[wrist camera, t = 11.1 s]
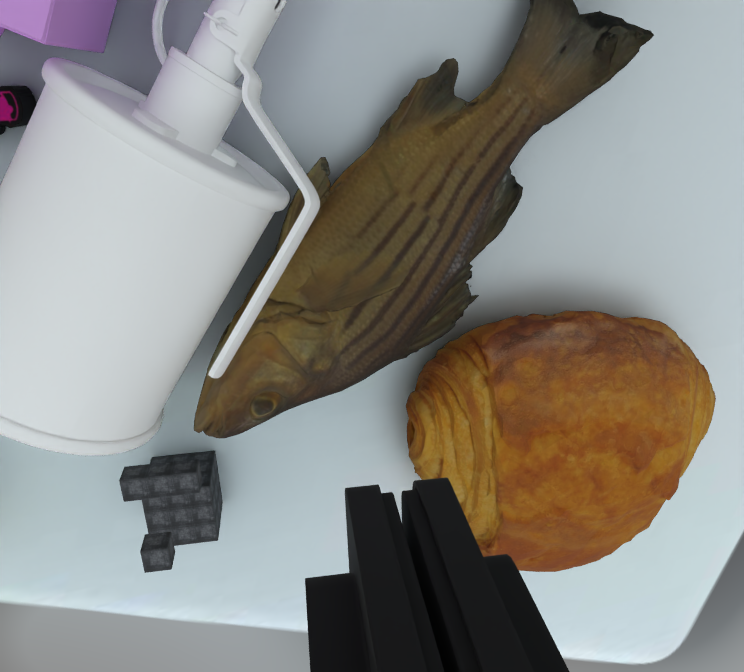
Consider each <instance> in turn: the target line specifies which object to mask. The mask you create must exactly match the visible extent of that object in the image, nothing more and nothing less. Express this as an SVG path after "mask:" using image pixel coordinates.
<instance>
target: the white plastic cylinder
mask: <svg viewBox="0 0 744 672" xmlns="http://www.w3.org/2000/svg"><path fill="white" fill-rule="evenodd" d="M168 2H169V0H157V2H156V4H155V8H154V12H153V17H152V37H153V43H154V47H155V51H156V54H157V56H158V58H159V60H160V62H161V64H162V68H161V70H160V72H159V74H158V76H157V78H156V80H155V82H154V84H153V87H152V89H151V91H150V93H149V95H148V96H147V95H145V94H143V93H141V92H139V91H137V90H135V89H133V88H131V87H129V86H127V85H125V84H123V83H121V82H119V81H117V80H115V79H113V78H111V77H109V76H107V75H105V74H103V73H100V72H98V71H96V70H94V69H91V68H89V67H86V66H84V65H81V64H79V63H76V62H73V61H70V60H67V59H63V58H57V57H52V58H49V59H47V60H46V61H45V63H44V65H43V67H42V77H43V79H44V81H45V82H46V84H45V86H44V88H43V91H42V93H41V95H40V98H39V100H38V102H37V105H36V107H35V109H34V111H33V114H32V116H31V118H30V121H29V123H28V125H27V127H26V130H25V132H24V134H23V136H22V139H21V141H20V143H19V145H18V147H17V150H16V152H15V154H14V156H13V159H12V161H11V163H10V165H9V168H8V170H7V172H6V174H5V176H4V179H3V181H2V183H1V185H0V434H1V435H3V436H5V437H8V438H10V439H13V440H15V441H18V442H21V443H24V444H27V445H30V446H33V447H37V448H41V449H45V450H49V451H54V452H59V453H65V454H72V455H84V456H103V455H113V454H119V453H123V452H127V451H130V450H133V449H136V448H138V447H140V446H142V445H143V444H145V443H147V442H148V441H149V440H150V439H151V438H152V437H153V436H154V435H155V434H156V433H157V431H158V430H159V428H160V426H161V424H162V421H163V416H164V405H165V404H166V402H167V400H168V398H169V396H170V395H171V393H172V391H173V389H174V388H175V386H176V384H177V382H178V380H179V379H180V377H181V375H182V373H183V372H184V370H185V368H186V366H187V365H188V363H189V361H190V359H191V357H192V356H193V354H194V352H195V350H196V349H197V347H198V345H199V343H200V342H201V340H202V338H203V336H204V335H205V333H206V331H207V329H208V328H209V326H210V324H211V322H212V321H213V319H214V317H215V315H216V313H217V312H218V310H219V308H220V306H221V305H222V303H223V301H224V299H225V298H226V296H227V294H228V292H229V291H230V289H231V287H232V285H233V284H234V282H235V280H236V278H237V277H238V275H239V273H240V271H241V270H242V268H243V266H244V264H245V263H246V261H247V259H248V258H249V256H250V254H251V252H252V251H253V249H254V247H255V245H256V244H257V242H258V240H259V238H260V237H261V235H262V233H263V231H264V230H265V228H266V226H267V225H268V223H269V221H270V220H271V218H272V216H273V215H274V213H275V212H277V211H282V210H283V209H284V208H285V207H286V206H287V205H288V203H289V200H290V195H289V193H288V191H287V190H286V188H285V187H284V186H283V185H282V184H281V183H280V182H279V181H278V180H277V179H276V178H275V177H273V176H272V175H271V174H270V173H269V172H267V171H266V170H265V169H263V168H262V167H261V166H260V165H258V164H257V163H255V162H254V161H253V160H251V159H250V158H249V157H247V156H246V155H244V154H243V153H241V152H240V151H238V150H237V149H235V148H234V147H232V146H231V145H229V144H228V143H226V142H225V141H223V140H222V138H223V136H224V134H225V132H226V130H227V128H228V127H229V125H230V123H231V121H232V119H233V117H234V115H235V113H236V111H237V110H238V108H239V106H240V104H241V102H242V100H243V103H244V105H245V106H246V108H247V110H248V111H249V113H250V115H251V116H252V118H253V119H254V121H255V122H256V124H257V125H258V127H259V128H260V130H261V131H262V133H263V134H264V136H265V137H266V139H267V140H268V142H269V143H270V145H271V146H272V148H273V149H274V151H275V152H276V154H277V155H278V157H279V158H280V160H281V161H282V163H283V164H284V166H285V167H286V169H287V170H288V172H289V173H290V175H291V176H292V178H293V179H294V181H295V182H296V184H297V185H298V187H299V188H300V190H301V192H302V194H303V196H304V199H305V205H304V207H303V209H302V211H301V213H300V215H299V217H298V218H297V220H296V222H295V224H294V226H293V227H292V229H291V231H290V233H289V234H288V236H287V238H286V240H285V241H284V243H283V245H282V246H281V248H280V250H279V252H278V253H277V255H276V257H275V259H274V260H273V262H272V264H271V266H270V267H269V269H268V271H267V272H266V274H265V276H264V278H263V279H262V281H261V283H260V285H259V286H258V288H257V290H256V291H255V293H254V295H253V297H252V298H251V300H250V302H249V304H248V305H247V307H246V309H245V310H244V312H243V314H242V316H241V317H240V319H239V321H238V323H237V324H236V326H235V328H234V329H233V331H232V333H231V335H230V336H229V338H228V340H227V342H226V343H225V345H224V347H223V348H222V350H221V352H220V354H219V355H218V357H217V359H216V361H215V362H214V364H213V366H212V368H211V369H210V371H209V373H208V375H209V376H210V377H212V378H219V377H221V376H222V375H223V374H224V372H225V370H226V369H227V367H228V365H229V364H230V362H231V360H232V359H233V357H234V355H235V354H236V352H237V350H238V348H239V347H240V345H241V343H242V342H243V340H244V338H245V337H246V335H247V333H248V331H249V330H250V328H251V326H252V325H253V323H254V321H255V320H256V318H257V316H258V314H259V313H260V311H261V309H262V308H263V306H264V304H265V303H266V301H267V299H268V297H269V296H270V294H271V292H272V291H273V289H274V287H275V286H276V284H277V282H278V280H279V279H280V277H281V275H282V274H283V272H284V270H285V268H286V267H287V265H288V263H289V262H290V260H291V258H292V256H293V255H294V253H295V251H296V250H297V248H298V246H299V244H300V243H301V241H302V239H303V238H304V236H305V234H306V232H307V231H308V229H309V227H310V225H311V224H312V222H313V220H314V218H315V216H316V215H317V213H318V211H319V208H320V199H319V196H318V194H317V191H316V190H315V188H314V186H313V184H312V183H311V181H310V180H309V178H308V177H307V175H306V173H305V172H304V170H303V169H302V167H301V166H300V164H299V163H298V161H297V160H296V158H295V157H294V155H293V154H292V152H291V151H290V149H289V148H288V146H287V145H286V143H285V142H284V140H283V139H282V137H281V136H280V134H279V133H278V131H277V130H276V128H275V127H274V125H273V124H272V122H271V121H270V119H269V118H268V116H267V115H266V113H265V112H264V110H263V109H262V107H261V103H260V94H261V91H262V81H261V79H260V77H259V76H258V74H257V73H256V71H255V70H254V69H253V66H254V64H255V62H256V60H257V58H258V56H259V54H260V51H261V49H262V47H263V45H264V43H265V41H266V39H267V38H268V36H269V34H270V32H271V30H272V28H273V26H274V24H275V23H276V21H277V19H278V17H279V15H280V13H281V12H282V10H283V8H284V6H285V4H286V2H287V0H213V1H212V3H211V5H210V7H209V9H208V11H207V12H204V15H205V17H204V19H203V21H202V23H201V25H200V27H199V29H198V31H197V33H196V35H195V37H194V39H193V41H192V43H191V45H190V47H189V49H188V51H187V53H184V52H183V51H181V50H179V49H177V48H175V47H173V46H171V48H170V50H169V52H168V56H167V53H166V51H165V47H164V43H163V36H162V23H163V16H164V12H165V9H166V6H167V4H168ZM242 74H243V75H244V81H243V85H242V89H241V88H240V87H238V86H237V85H235V82H236V80H237V79H238V78H239V77H240V76H241V75H242Z"/></svg>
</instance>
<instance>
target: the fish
mask: <svg viewBox="0 0 744 672" xmlns="http://www.w3.org/2000/svg"><path fill="white" fill-rule="evenodd" d="M653 36H654V35H653V33H652V32H651V31H649V30H644V29H642V28H640V27H638V26H635V25H632V24H629V23H626V22H625V21H624V20H623V19H622V18H618V17H615V16H611V15H607V14H604V13H602V12H601V11H599V12H594V13H588V14H581V15H579V13H578V10H577V7H576V5H575V3H574V2H573V0H530V9H529V12H528V16H527V20H526V22H525V25H524V27H523V29H522V31H521V34H520V36H519V39H518V41H517V43H516V45H515V47H514V49H513V51H512V53H511V56H510V58H509V60H508V61H507V63H506V65H505V67H504V68H503V70H502V72H501V73H500V74H499V75H498V76H497V78H496V79H495V80H494V82H493V83H492V85H491V86H489V87H488V88H487V89H485V90H484V91H483V92H482V93H481V94H480V95H479V96H478V97H476V98H475V99H473V100H472V101H471V102H466V101H464V100H463V99H461V98H458V97H456V96H454V86H455V82H456V78H457V75H458V62H457V61H456V60H455V59H454V58H452V59H447V60H446V61H445V62H443V63H442V64H441V66H440V68H439V70H438V71H437V72H436V73H435V74H433V75H431V76H429V77H426V78H422V79H418V80H417V82H416V84H415V85H414V87H413V88H412V90H411V91H410V93H409V94H408V96H406V97H404V99H403V100H402V101H401V103H400V105H399V107H398V109H397V110H396V111H395V112H394V114H393V115H392V116H391V117H390V118H389V119H388V120H387V121H386V122H385V124H384V125H383V126H382V127H381V128H380V132H379V136H378V137H377V139H376V140H375V142H374V143H373V145H372V146H371V147H370V148H369V149H368V150H367V151H366V152H365V153H364V154H363V155H362V156H360V157H359V158H358V159H357V160H356V161H355V162H354V163H353V164H352V165H350V166H349V167H348V168H347V169H346V170H345V171H344V172H343V173H342V174H341V176H340V177H339V178H338V179H337V180H336V182H335V183H334V184H333V185H332V186H331V188H330V189H329V187H330V181H329V178H328V176H329V174H330V170H329V166H328V162H327V160H326V158H325V157H321V158H320V159H319V160H318V162H317V163H316V164H315V165H314V167H313V168H312V169H311V170H310V171H309V173H308V174H307V177H308V178H309V180H310V181H311V183H312V184H313V186H314V188H315V190H316V191H317V194H318V196H319V199H320V208H319V211H318V213H317V215H316V216H315V218H314V220H313V222H312V224H311V225H310V227H309V229H308V231H307V232H306V234H305V236H304V238H303V239H302V241H301V243H300V244H299V246H298V248H297V250H296V251H295V253H294V255H293V256H292V258H291V260H290V262H289V263H288V265H287V267H286V268H285V270H284V272H283V274H282V275H281V277H280V279H279V280H278V282H277V284H276V286H275V287H274V289H273V291H272V292H271V294H270V296H269V297H268V299H267V301H266V303H265V304H264V306H263V308H262V309H261V311H260V313H259V314H258V316H257V318H256V320H255V321H254V323H253V325H252V326H251V328H250V330H249V331H248V333H247V335H246V337H245V338H244V340H243V342H242V343H241V345H240V347H239V348H238V350H237V352H236V354H235V355H234V357H233V359H232V360H231V362H230V364H229V365H228V367H227V369H226V370H225V372H224V374H223V375H222V376H221V377H219V378H212V377H210V376H209V375H208V373H209V371H210V369H211V368H212V366H213V364H214V362H215V361H216V359H217V357H218V355H219V354H220V352H221V350H222V348H223V347H224V345H225V343H226V342H227V340H228V338H229V336H230V335H231V333H232V331H233V329H234V328H235V326H236V324H237V323H238V321H239V319H240V317H241V316H242V314H243V312H244V310H245V309H246V307H247V305H248V304H249V302H250V300H251V298H252V297H253V295H254V293H255V291H256V290H257V288H258V286H259V285H260V283H261V281H262V279H263V278H264V276H265V274H266V272H267V271H268V269H269V267H270V266H271V264H272V262H273V260H274V259H275V257H276V255H277V253H278V252H279V250H280V248H281V246H282V245H283V243H284V241H285V240H286V238H287V236H288V234H289V233H290V231H291V229H292V227H293V226H294V224H295V222H296V220H297V218H298V217H299V215H300V213H301V211H302V209H303V207H304V205H305V199H304V196H303V194H302V192H301V190H300V188H299V189H298V190H297V192H296V194H295V196H294V198H293V200H292V202H291V204H290V206H289V208H288V211H287V214H286V217H285V220H284V223H283V227H282V230H281V234H280V238H279V242H278V244H277V247H276V249H275V252H274V255H273V256H272V257H271V258H270V259H269V261H268V262H267V264H266V265H265V267H264V269H263V270H262V272H261V273H260V275H259V276H258V278H257V279H256V281H255V282H254V284H253V285H252V287H251V289H250V291H249V293H248V294H247V296H246V298H245V300H244V302H243V304H242V306H241V307H240V308H239V310H238V311H237V312H236V314H235V315H234V318H233V320H232V322H231V323H230V324H229V325H228V326H227V328H226V330H225V331H224V333H223V335H222V337H221V339H220V341H219V343H218V345H217V347H216V350H215V352H214V354H213V356H212V359H211V361H210V364H209V366H208V369H207V374H206V377H205V380H204V384H203V387H202V391H201V394H200V398H199V402H198V405H197V411H196V414H195V420H194V431H196V432H198V433H200V432H202V431H204V433H205V434H206V435H208V436H213V437H216V438H227V437H230V436H234V435H237V434H240V433H243V432H245V431H247V430H249V429H251V428H253V427H255V426H257V425H259V424H261V423H263V422H265V421H267V420H269V419H271V418H272V417H274V416H276V415H278V414H280V413H282V412H284V411H286V410H289V409H291V408H294V407H296V406H299V405H301V404H304V403H307V402H310V401H313V400H316V399H319V398H322V397H325V396H328V395H331V394H334V393H337V392H340V391H342V390H344V389H346V388H348V387H350V386H352V385H354V384H356V383H358V382H360V381H362V380H364V379H366V378H367V377H369V376H370V375H372V374H373V373H375V372H377V371H378V370H380V369H382V368H383V367H385V366H387V365H388V364H390V363H392V362H393V361H396V360H399V359H402V358H407V356H408V355H410V354H411V353H414V352H417V351H418V350H419V349H421V348H423V347H425V346H427V345H429V344H430V343H432V342H433V341H435V340H437V339H438V338H440V337H442V336H443V335H445V334H446V333H447V332H449V331H450V330H451V329H452V328H453V327H454V326H455V323H456V321H457V320H458V319H459V318H460V317H463V313H464V310H465V309H466V308H467V307H468V305H469V304H471V303H472V302H473V301H474V300H475V299H476V298H477V297H478V296H479V295H475V296H471V293H470V290H469V286H468V284H467V283H466V281H467V280H469V279H470V278H471V277H472V271H470V269H471V268H472V267H473V266H472V265H471V264H469V263H470V262H471V261H472V260H473V259H474V258H475V257H476V256H477V255H478V254H479V253H480V252H481V251H482V250H483V249H484V248H485V247H486V246H487V245H488V244H489V243H490V242H492V241H493V240H494V239H495V238H496V237H497V236H498V235H499V233H500V232H501V231H502V230H503V228H504V227H505V225H506V223H507V221H508V219H509V218H510V216H511V215H512V213H513V212H514V211H515V209H516V207H517V205H518V203H519V201H520V198H521V196H522V190H523V187H522V186H520V185H519V184H518V183H517V182H516V180H515V177H514V176H513V175H511V171H510V168H509V167H510V165H511V164H512V162H513V161H514V159H515V158H516V156H517V155H518V153H519V151H520V150H521V149H522V147H523V146H524V145H525V143H526V142H527V141H528V140H529V138H530V137H531V136H532V135H533V134H535V133H536V132H537V131H538V130H540V128H541V127H542V126H543V125H546V124H549V123H550V122H552V121H553V120H555V119H556V118H558V117H559V116H561V115H562V114H564V113H565V112H566V111H568V110H569V109H571V108H572V107H574V106H575V105H576V104H578V103H579V102H580V101H582V100H583V99H584V98H585V97H587V96H588V95H589V94H591V93H592V92H594V91H595V90H597V89H598V88H600V87H601V86H602V85H604V84H605V83H607V82H608V81H609V80H610V79H611V78H612V77H613V76H614V75H615V74H616V73H617V72H619V71H620V70H621V69H623V68H624V67H625V66H626V65H627V64H628V63H629V62H630V61H631V60H632V59H633V57H634V56H635V55H636V54H637V53H638V52H639V49H640V46H642V45H644V44H645V43H646V42H647V41H649V40H650V39H651V38H652V37H653ZM464 105H465V106H464ZM470 287H471V286H470Z"/></svg>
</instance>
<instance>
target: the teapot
mask: <svg viewBox="0 0 744 672" xmlns="http://www.w3.org/2000/svg"><path fill="white" fill-rule="evenodd" d="M116 3H117V0H0V36H1V35H2V33H3V32H4V30H5V29H8V30H10V31H13V32H15V33H18V34H20V35H23V36H25V37H28V38H30V39H33V40H35V41H37V42H40V43H42V44H45V45H52V46H58V47H65V48H72V49H79V50H86V51H93V52H100V53H103V52H104V49H105V45H106V41H107V37H108V34H109V30H110V26H111V22H112V18H113V14H114V10H115V6H116Z"/></svg>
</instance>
